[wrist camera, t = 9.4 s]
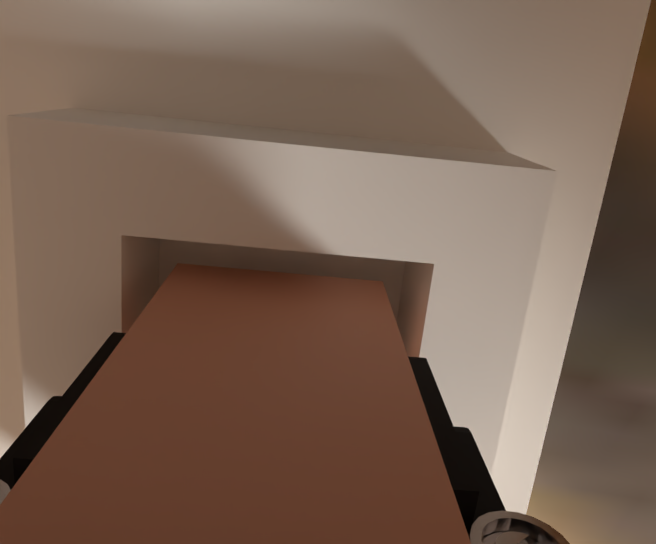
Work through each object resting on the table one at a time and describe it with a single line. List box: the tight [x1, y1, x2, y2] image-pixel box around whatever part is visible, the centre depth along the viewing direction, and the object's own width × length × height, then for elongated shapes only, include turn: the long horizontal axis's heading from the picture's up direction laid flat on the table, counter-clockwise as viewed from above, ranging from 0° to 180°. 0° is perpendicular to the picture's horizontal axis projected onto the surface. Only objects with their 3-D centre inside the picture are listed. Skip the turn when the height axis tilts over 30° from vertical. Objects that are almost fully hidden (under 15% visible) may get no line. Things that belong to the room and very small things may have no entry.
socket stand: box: [0, 0, 651, 515], centre depth 13 cm, size 15×20×4 cm
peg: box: [0, 263, 471, 544], centre depth 9 cm, size 4×4×9 cm
